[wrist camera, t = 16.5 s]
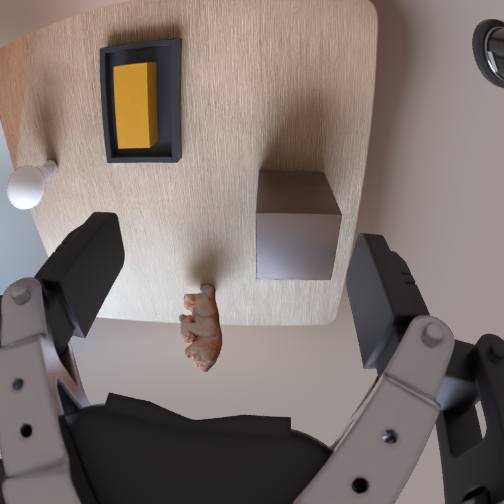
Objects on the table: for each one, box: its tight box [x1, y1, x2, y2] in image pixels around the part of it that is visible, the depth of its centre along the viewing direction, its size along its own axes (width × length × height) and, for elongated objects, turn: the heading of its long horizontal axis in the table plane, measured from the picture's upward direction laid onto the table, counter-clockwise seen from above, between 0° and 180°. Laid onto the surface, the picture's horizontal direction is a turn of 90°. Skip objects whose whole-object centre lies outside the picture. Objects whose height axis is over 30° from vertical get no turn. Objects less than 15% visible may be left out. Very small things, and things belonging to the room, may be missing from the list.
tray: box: [100, 39, 181, 163], centre depth 35 cm, size 11×17×2 cm, turn 177°
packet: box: [114, 62, 158, 149], centre depth 34 cm, size 11×4×4 cm, turn 177°
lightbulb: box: [7, 160, 58, 209], centre depth 37 cm, size 6×6×11 cm
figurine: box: [179, 285, 222, 372], centre depth 50 cm, size 6×8×15 cm
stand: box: [256, 171, 342, 280], centre depth 39 cm, size 9×9×12 cm
